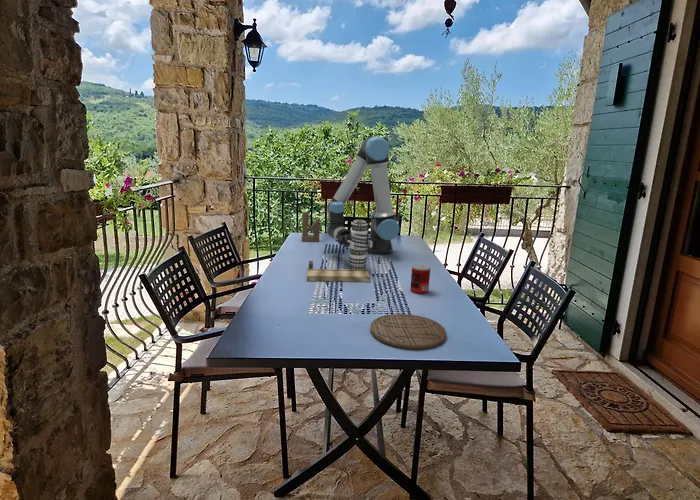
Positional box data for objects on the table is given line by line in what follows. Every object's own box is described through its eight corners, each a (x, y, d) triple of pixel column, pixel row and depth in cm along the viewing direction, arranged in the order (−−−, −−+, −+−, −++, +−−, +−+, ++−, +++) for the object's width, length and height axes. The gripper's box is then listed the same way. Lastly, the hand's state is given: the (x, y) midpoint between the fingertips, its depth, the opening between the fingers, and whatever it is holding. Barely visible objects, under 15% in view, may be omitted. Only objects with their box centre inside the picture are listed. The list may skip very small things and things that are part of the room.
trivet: (455, 351, 135) (456, 345, 134) (375, 350, 133) (375, 345, 132) (434, 319, 159) (434, 314, 159) (366, 318, 157) (366, 313, 157)
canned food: (429, 289, 190) (431, 265, 187) (426, 295, 183) (428, 270, 180) (412, 287, 192) (414, 263, 190) (408, 292, 185) (410, 267, 182)
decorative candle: (370, 271, 213) (373, 221, 207) (357, 275, 206) (360, 222, 200) (356, 267, 219) (359, 218, 213) (343, 270, 212) (346, 219, 206)
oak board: (366, 274, 208) (367, 269, 207) (369, 282, 197) (369, 276, 196) (307, 273, 205) (307, 268, 204) (307, 281, 194) (307, 275, 194)
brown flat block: (312, 268, 214) (313, 260, 213) (312, 272, 208) (313, 264, 207) (308, 268, 213) (308, 260, 212) (308, 272, 208) (308, 264, 207)
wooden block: (319, 242, 270) (319, 213, 266) (301, 241, 269) (302, 212, 265) (319, 240, 274) (319, 212, 269) (301, 240, 273) (302, 211, 269)
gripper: (361, 241, 230) (382, 251, 210) (323, 243, 221) (341, 254, 202) (362, 227, 229) (383, 236, 209) (324, 229, 220) (342, 238, 200)
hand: (362, 245), depth 205 cm, fingers closed on decorative candle, 9 cm apart
